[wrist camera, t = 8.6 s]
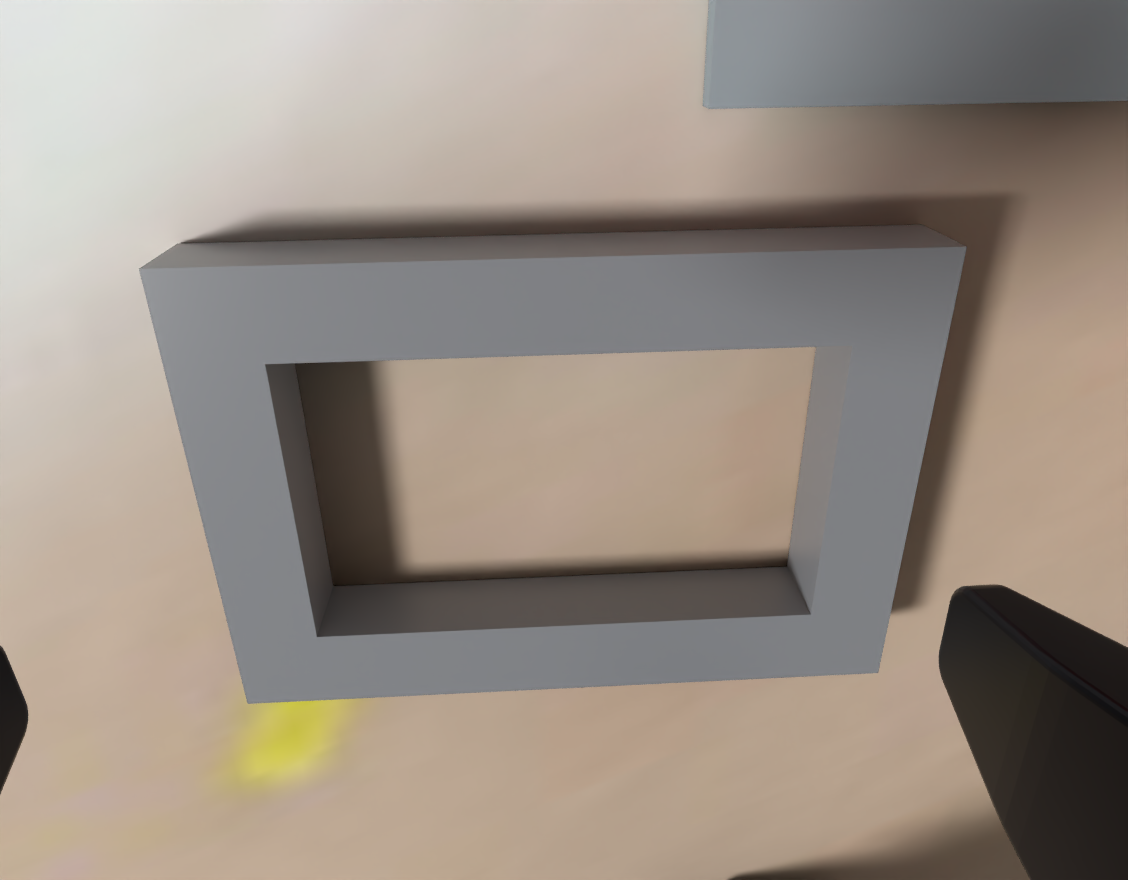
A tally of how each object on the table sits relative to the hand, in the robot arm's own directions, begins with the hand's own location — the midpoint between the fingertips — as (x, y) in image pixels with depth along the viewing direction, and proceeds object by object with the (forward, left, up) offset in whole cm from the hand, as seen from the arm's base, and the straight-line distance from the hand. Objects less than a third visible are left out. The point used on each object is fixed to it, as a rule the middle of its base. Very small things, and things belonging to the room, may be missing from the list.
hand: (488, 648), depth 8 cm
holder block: (-4, -1, -12) cm, 12 cm away
